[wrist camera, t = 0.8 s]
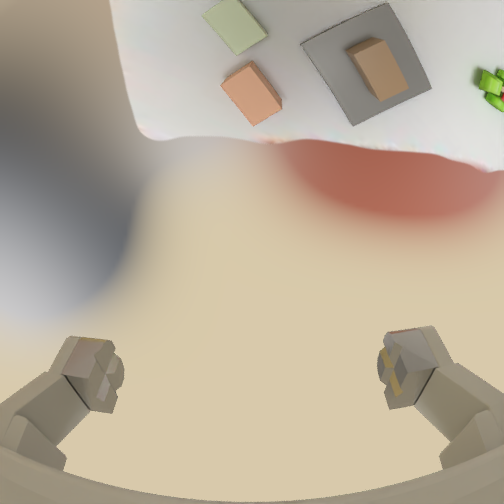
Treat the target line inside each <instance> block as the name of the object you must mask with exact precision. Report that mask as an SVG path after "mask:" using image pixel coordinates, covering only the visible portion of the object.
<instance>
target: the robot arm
mask: <svg viewBox="0 0 504 504" xmlns="http://www.w3.org/2000/svg"><path fill="white" fill-rule="evenodd" d="M383 343H384V345H385V347H384V348H383V349H382V350H381V351H380V353H379V356H378V362H377V367H378V368H377V369H378V374H379V378H380V381H382V382H383V383H384V384H386V385H387V386H386V389H385V391H384V394H385V397H386V400H387V404H388V407H389V409H396V408H402V407H407V406H412V405H415V406H414V407H415V408H416V409H417V410H418V411H419V412H420V413H421V414H422V415H423V416H424V417H425V418H426V419H427V420H429V421H430V422H431V423H432V424H433V425H434V426H435V427H436V428H437V429H438V430H439V431H440V432H441V433H442V434H443V435H444V436H445V437H446V438H447V439H448V440H449V441H450V442H451V443H450V444H449V445H448V446H447V447H446V448H445V449H444V450H443V451H442V452H441V454H440V456H439V457H440V461H441V464H442V468H443V470H441V471H438V472H435V473H432V474H429V475H426V476H423V477H419V478H416V479H413V480H409V481H406V482H402V483H398V484H394V485H390V486H386V487H382V488H377V489H372V490H368V491H363V492H357V493H352V494H346V495H339V496H333V497H325V498H316V499H306V500H296V501H295V500H294V501H279V502H222V501H207V500H195V499H185V498H176V497H169V496H162V495H156V494H150V493H144V492H139V491H134V490H129V489H125V488H120V487H115V486H112V485H108V484H103V483H100V482H96V481H93V480H89V479H85V478H82V477H79V476H76V475H73V474H70V473H67V472H64V471H63V469H64V466H65V462H66V456H65V454H63V453H62V452H61V451H60V450H59V449H58V448H57V447H56V446H57V445H58V444H59V443H60V442H61V441H62V440H63V439H64V438H65V437H66V436H67V435H68V434H69V432H71V430H72V429H74V428H75V427H76V426H77V424H79V422H80V421H81V420H82V419H83V418H84V417H85V416H86V415H87V414H88V413H89V412H90V410H91V411H98V412H104V413H113V410H114V407H115V404H116V401H117V398H118V396H117V394H116V390H117V389H118V388H119V387H121V385H122V383H123V380H124V366H123V363H122V361H121V358H119V357H118V356H117V355H116V354H115V353H114V351H115V346H114V344H113V343H112V341H110V340H103V339H95V338H86V337H76V336H69V337H68V338H67V339H66V340H65V342H64V344H63V345H62V347H61V349H60V351H59V353H58V354H57V356H56V358H55V360H54V362H53V364H52V366H51V368H50V369H49V371H48V372H44V373H42V374H41V375H39V376H38V377H37V378H35V379H34V380H33V381H31V382H30V383H28V384H27V385H26V386H24V387H23V388H21V389H20V390H19V391H17V392H16V393H14V394H13V395H12V396H10V397H9V398H8V399H6V400H5V401H4V402H2V403H1V404H0V504H504V394H503V393H502V392H500V391H499V390H497V389H496V388H495V387H493V386H491V385H490V384H489V383H487V382H486V381H484V380H483V379H481V378H480V377H478V376H477V375H475V374H474V373H472V372H471V371H469V370H468V369H466V368H465V367H463V366H462V365H460V364H459V363H456V364H454V362H453V360H452V359H451V357H450V355H449V353H448V351H447V349H446V347H445V346H444V344H443V342H442V340H441V338H440V336H439V335H438V333H437V331H436V329H435V328H434V327H433V326H426V327H419V328H412V329H405V330H398V331H391V332H387V333H386V335H385V337H384V340H383Z"/></svg>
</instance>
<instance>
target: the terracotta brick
mask: <svg viewBox="0 0 504 504" xmlns="http://www.w3.org/2000/svg"><path fill="white" fill-rule="evenodd" d="M221 87H222V89H223V90H224V91H225V92H226V93H227V95H228V96H229V97H230V98H231V100H232V101H233V102H234V103H235V104H236V106H237V107H238V108H239V109H240V111H241V112H242V113H243V114H244V116H245V117H246V118H247V120H248V121H249V122H250V123H251V125H252V126H255V125H256V124H258V123H260V122H261V121H263V120H265V119H266V118H268V117H269V116H271V115H273V114H275V113H276V112H278V111H280V110H281V109H282V99H281V98H280V97H279V95H278V94H277V93H276V91H275V90H274V89H273V87H272V86H271V84H270V83H269V82H268V80H267V79H266V78H265V77H264V75H263V74H262V73H261V71H260V70H259V69H258V67H257V66H256V65H255V64H254V62H253V61H252V62H250V63H248V64H247V65H245V66H244V67H242V68H241V69H239V70H238V71H236V72H235V73H233V74H232V75H230V76H229V77H227V78H226V79H225V80H224V82H223V83H222V84H221Z"/></svg>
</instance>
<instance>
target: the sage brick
mask: <svg viewBox="0 0 504 504" xmlns="http://www.w3.org/2000/svg"><path fill="white" fill-rule="evenodd" d="M201 16H202V17H203V18H204V19H205V20H206V21H207V23H208V24H209V25H210V26H211V27H212V28H213V29H214V30H215V32H216V33H217V34H218V35H219V36H220V37H221V39H222V40H223V41H224V42H225V43H226V44H227V46H228V47H229V48H230V49H231V50H232V51H233V53H234V54H235V55H236V56H237V55H239V54H240V53H242V52H243V51H245V50H246V49H248V48H249V47H251V46H253V45H254V44H256V43H257V42H259V41H260V40H262V39H264V38H265V37H267V36H268V34H267V33H266V31H265V30H264V29H263V28H262V26H261V25H260V24H259V23H258V21H257V20H256V19H255V18H254V17H253V15H252V14H251V13H250V12H249V11H248V10H247V8H246V7H245V6H244V5H243V4H242V3H241V1H240V0H223V1H221V2H220V3H218V4H217V5H215V6H214V7H212V8H211V9H210V10H208V11H207V12H205V13H204V14H203V15H201Z"/></svg>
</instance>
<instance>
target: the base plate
mask: <svg viewBox="0 0 504 504" xmlns="http://www.w3.org/2000/svg"><path fill="white" fill-rule="evenodd" d="M300 45H301V46H302V48H303V49H304V50H305V52H306V53H307V55H308V56H309V58H310V59H311V60H312V62H313V63H314V65H315V66H316V68H317V69H318V71H319V72H320V74H321V75H322V77H323V78H324V80H325V81H326V83H327V85H328V86H329V88H330V89H331V91H332V92H333V94H334V96H335V97H336V99H337V101H338V102H339V104H340V105H341V107H342V109H343V110H344V112H345V114H346V116H347V117H348V119H349V121H350V122H351V124H352V126H355V125H357V124H359V123H361V122H363V121H365V120H367V119H369V118H371V117H373V116H375V115H377V114H379V113H381V112H383V111H385V110H387V109H389V108H391V107H394V106H396V105H398V104H400V103H402V102H404V101H406V100H408V99H410V98H413V97H415V96H417V95H419V94H421V93H423V92H426V91H428V90H430V89H432V88H431V85H430V83H429V81H428V78H427V76H426V74H425V72H424V69H423V67H422V65H421V63H420V61H419V59H418V57H417V54H416V52H415V50H414V48H413V46H412V44H411V42H410V41H409V39H408V37H407V35H406V33H405V31H404V29H403V27H402V26H401V24H400V22H399V20H398V19H397V17H396V15H395V13H394V12H393V10H392V8H391V7H390V5H389V3H386V4H383V5H381V6H379V7H376V8H374V9H371V10H369V11H367V12H365V13H362V14H360V15H358V16H356V17H353V18H351V19H349V20H347V21H345V22H343V23H341V24H339V25H337V26H335V27H333V28H331V29H329V30H327V31H325V32H323V33H321V34H319V35H317V36H315V37H313V38H311V39H310V40H308V41H306V42H304V43H302V44H300Z"/></svg>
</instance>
